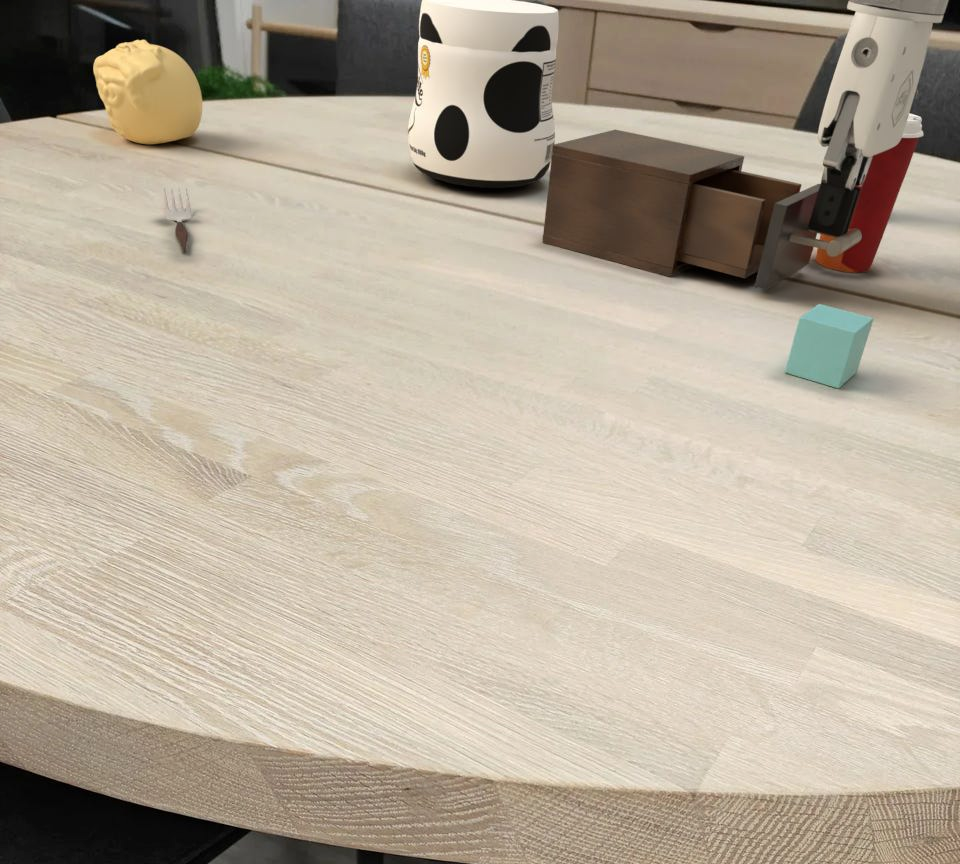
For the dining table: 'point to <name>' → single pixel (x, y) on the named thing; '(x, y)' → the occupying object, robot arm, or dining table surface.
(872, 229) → the paper cup
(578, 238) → the cabinet
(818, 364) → the teal cube
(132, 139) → the sculpture
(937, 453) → the dining table surface
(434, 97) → the milk container
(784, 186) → the drawer
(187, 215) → the fork
